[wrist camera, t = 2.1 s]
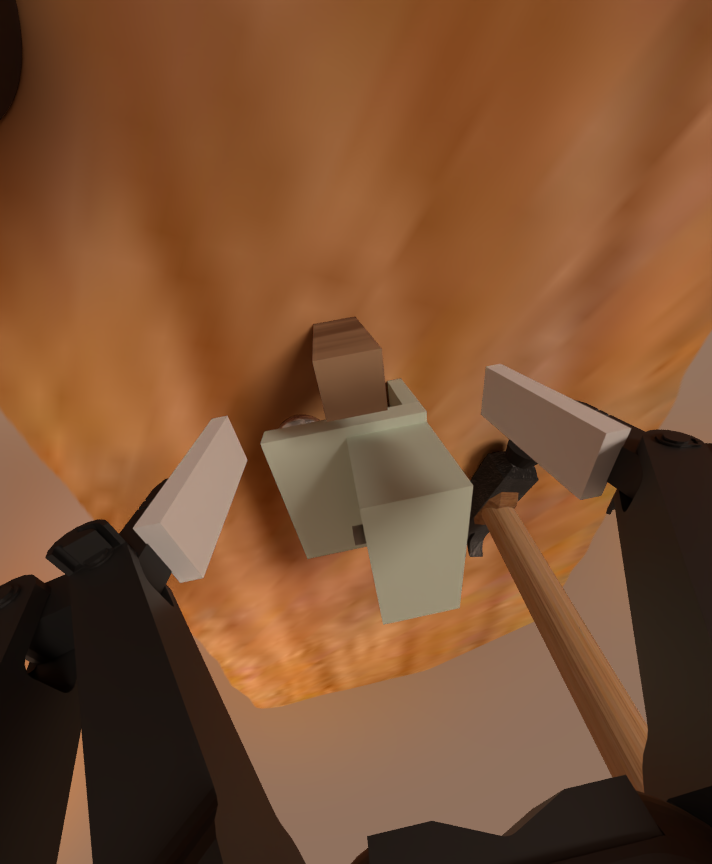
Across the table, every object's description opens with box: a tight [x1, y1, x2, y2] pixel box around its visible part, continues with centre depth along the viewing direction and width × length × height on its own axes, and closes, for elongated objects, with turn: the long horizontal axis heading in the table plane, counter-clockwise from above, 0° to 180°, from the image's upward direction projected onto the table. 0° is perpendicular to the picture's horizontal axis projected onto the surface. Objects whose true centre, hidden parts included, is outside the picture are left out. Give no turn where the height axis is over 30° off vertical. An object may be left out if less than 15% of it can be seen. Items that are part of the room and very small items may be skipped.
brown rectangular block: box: [312, 317, 388, 422], centre depth 25 cm, size 18×4×12 cm, turn 9°
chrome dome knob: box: [279, 415, 320, 429], centre depth 31 cm, size 6×6×2 cm
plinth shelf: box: [261, 379, 473, 625], centre depth 26 cm, size 16×14×16 cm
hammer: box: [465, 440, 648, 793], centre depth 29 cm, size 20×5×30 cm, turn 173°
